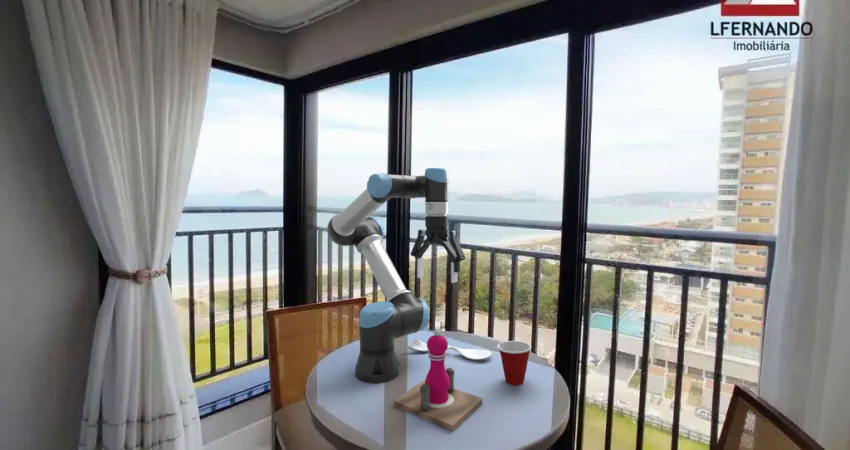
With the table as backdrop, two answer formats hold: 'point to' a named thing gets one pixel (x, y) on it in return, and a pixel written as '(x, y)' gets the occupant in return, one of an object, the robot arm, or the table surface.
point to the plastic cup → (514, 360)
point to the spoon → (466, 353)
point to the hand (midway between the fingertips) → (436, 279)
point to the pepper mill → (437, 369)
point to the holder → (439, 414)
